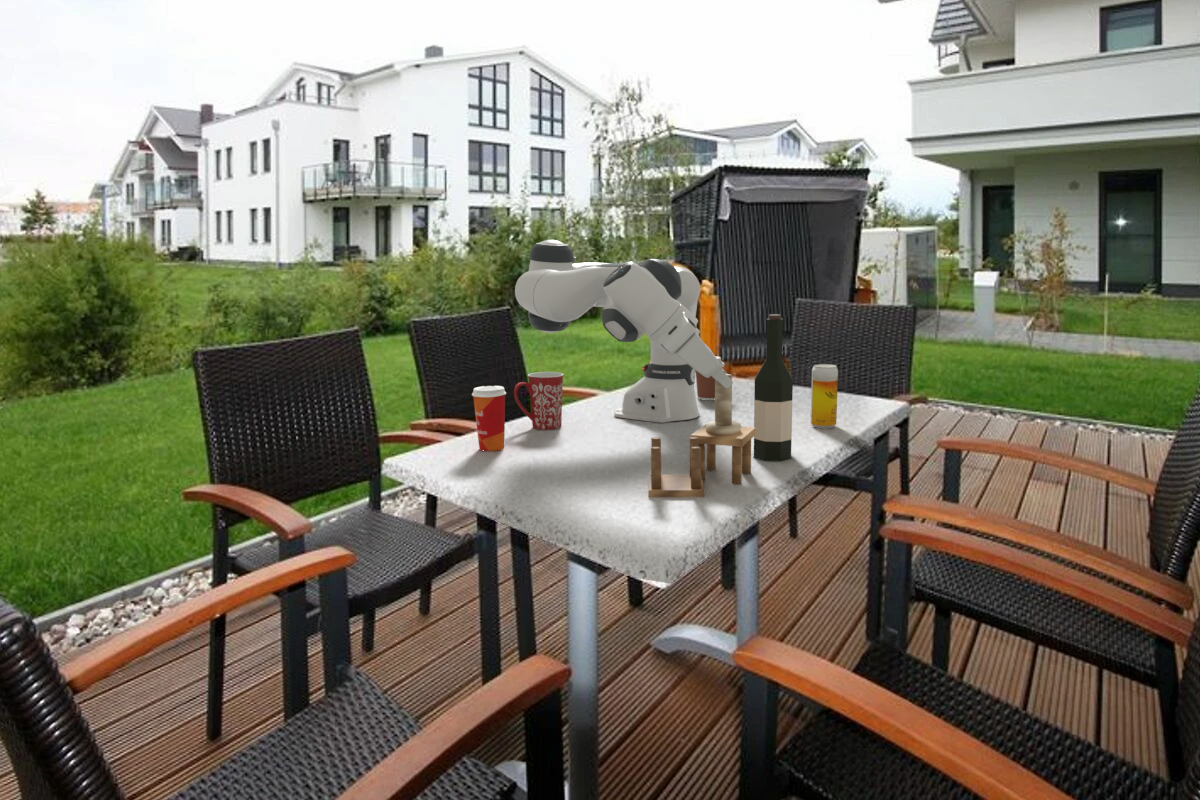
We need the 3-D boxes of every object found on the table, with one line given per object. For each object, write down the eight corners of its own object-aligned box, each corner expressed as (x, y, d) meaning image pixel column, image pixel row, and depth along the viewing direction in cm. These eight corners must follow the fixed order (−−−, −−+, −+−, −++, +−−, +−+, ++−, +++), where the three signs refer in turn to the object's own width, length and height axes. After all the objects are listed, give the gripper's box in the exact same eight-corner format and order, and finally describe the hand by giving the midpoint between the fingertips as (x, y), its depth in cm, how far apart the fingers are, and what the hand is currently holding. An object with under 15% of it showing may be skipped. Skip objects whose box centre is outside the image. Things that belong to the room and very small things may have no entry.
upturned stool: (648, 498, 147) (647, 450, 145) (649, 482, 156) (648, 436, 155) (704, 498, 146) (704, 449, 144) (701, 481, 156) (701, 436, 154)
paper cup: (475, 445, 187) (472, 385, 185) (509, 443, 188) (506, 384, 185) (473, 453, 180) (470, 392, 177) (508, 452, 180) (505, 390, 178)
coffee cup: (689, 400, 233) (689, 359, 231) (697, 394, 242) (697, 354, 239) (720, 401, 230) (720, 360, 228) (727, 396, 238) (727, 355, 236)
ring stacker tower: (701, 433, 155) (701, 377, 153) (711, 426, 161) (711, 371, 159) (735, 436, 152) (735, 378, 150) (744, 428, 158) (744, 373, 156)
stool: (691, 480, 156) (690, 434, 154) (706, 466, 165) (706, 423, 163) (741, 485, 152) (742, 439, 150) (754, 471, 161) (755, 427, 159)
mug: (561, 421, 210) (559, 370, 207) (568, 429, 201) (567, 375, 199) (512, 425, 207) (510, 373, 204) (518, 433, 198) (516, 379, 195)
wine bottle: (761, 449, 178) (763, 312, 172) (798, 454, 173) (801, 313, 167) (745, 458, 171) (747, 316, 165) (783, 463, 166) (786, 317, 160)
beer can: (837, 429, 194) (839, 367, 191) (811, 429, 195) (812, 367, 192) (835, 424, 200) (837, 363, 197) (809, 423, 201) (811, 363, 198)
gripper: (662, 336, 164) (710, 383, 166) (665, 350, 144) (720, 403, 145) (684, 313, 163) (732, 361, 164) (691, 324, 143) (746, 378, 144)
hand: (727, 381), depth 155 cm, fingers open, 8 cm apart
